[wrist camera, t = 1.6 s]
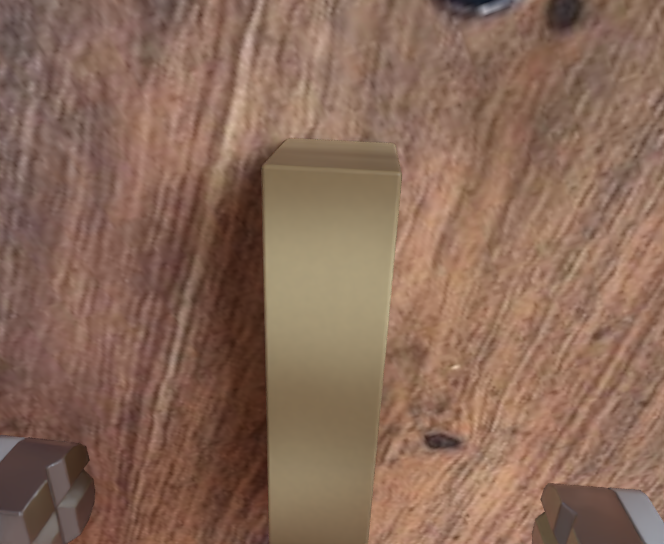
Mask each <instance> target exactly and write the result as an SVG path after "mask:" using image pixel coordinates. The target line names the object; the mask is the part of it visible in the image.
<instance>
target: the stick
mask: <svg viewBox="0 0 664 544" xmlns="http://www.w3.org/2000/svg"><path fill="white" fill-rule="evenodd" d="M401 183H402V173H401V168H400V164H399V159H398V155H397V151H396V146H395V144H393V143H379V142H359V141H338V140H318V139H297V138H288V139H286V140H285V141H284V142H283V143H282V144H281V146H280V147H279V148H278V149H277V150H276V151H275V152H274V153H273V154H272V155H271V156H270V157H269V158H268V160H267V161H266V162H265V163H264V164H263V165H262V168H261V184H262V231H263V279H264V327H265V374H266V422H267V470H268V518H269V544H368V539H369V528H370V517H371V506H372V496H373V485H374V474H375V463H376V452H377V442H378V431H379V420H380V409H381V398H382V388H383V377H384V366H385V355H386V344H387V334H388V323H389V312H390V301H391V291H392V280H393V269H394V258H395V247H396V237H397V226H398V215H399V204H400V193H401Z"/></svg>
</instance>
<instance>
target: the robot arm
mask: <svg viewBox="0 0 664 544" xmlns="http://www.w3.org/2000/svg"><path fill="white" fill-rule="evenodd" d="M89 460H90V459H89V455H88V451H87V447H86V446H85V445H83V444H80V443H74V442H65V441H56V440H47V439H39V438H30V437H28V438H24V437H15V436H7V435H0V544H67V543H69V542H70V541H72V540H73V539H75V538H76V537H78V536H79V535H80V534H81V533H82V531H83V529H84V527H85V526H86V524H87V522H88V521H89V518H90V515H91V512H92V509H93V506H94V502H95V485H94V480H93V478H92V477H91V476H90V475H89V474H88V473H87V472H86V471H85V470H84V468H85V466H86V465H87V463H88V462H89ZM541 502H542V505H543V508H544V511H545V512H544V513H542V514H541V515H540V516H538V517H537V518H536V519H535V522H534V527H533V531H532V544H664V522H663V520H662V519H661V517H660V516H659V514H658V512H657V511H656V509H655V508H654V506H653V504H652V503H651V501H650V500H649V498H648V496H647V495H646V494H645V493H643V492H642V491H641V490H635V489H621V488H605V487H593V486H580V485H567V484H554V483H548V484H547V485H546V486H545V488H544V490H543V493H542V496H541Z"/></svg>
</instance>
